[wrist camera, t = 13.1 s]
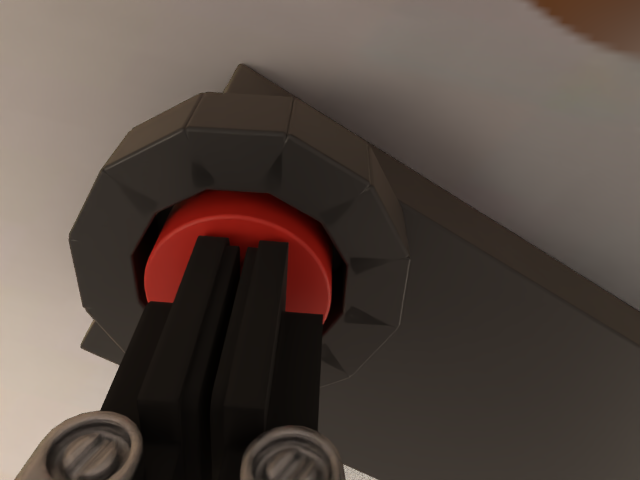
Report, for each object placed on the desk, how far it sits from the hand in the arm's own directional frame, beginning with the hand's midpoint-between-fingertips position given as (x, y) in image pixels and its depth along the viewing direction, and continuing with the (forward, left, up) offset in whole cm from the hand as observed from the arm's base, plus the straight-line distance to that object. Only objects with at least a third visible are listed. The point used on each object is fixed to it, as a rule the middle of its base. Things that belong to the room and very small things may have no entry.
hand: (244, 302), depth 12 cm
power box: (+4, +4, -4) cm, 7 cm away
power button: (0, 0, -2) cm, 2 cm away
